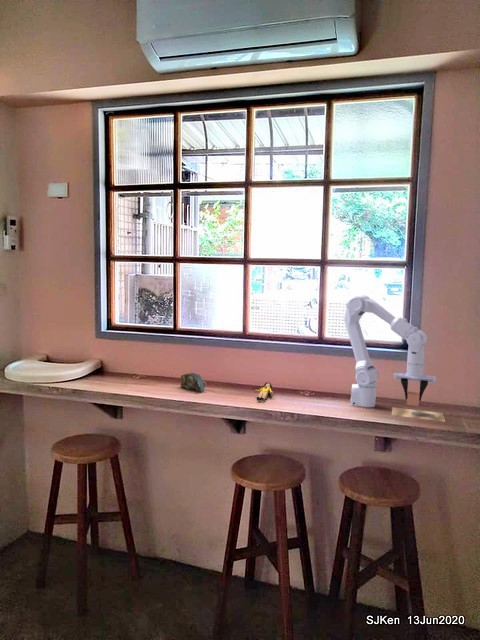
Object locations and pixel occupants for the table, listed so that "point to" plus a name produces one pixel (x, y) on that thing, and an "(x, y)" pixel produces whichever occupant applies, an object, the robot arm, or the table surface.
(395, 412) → the board
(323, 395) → the table surface
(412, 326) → the robot arm
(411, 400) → the block
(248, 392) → the table surface
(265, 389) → the toy
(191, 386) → the sculpture
